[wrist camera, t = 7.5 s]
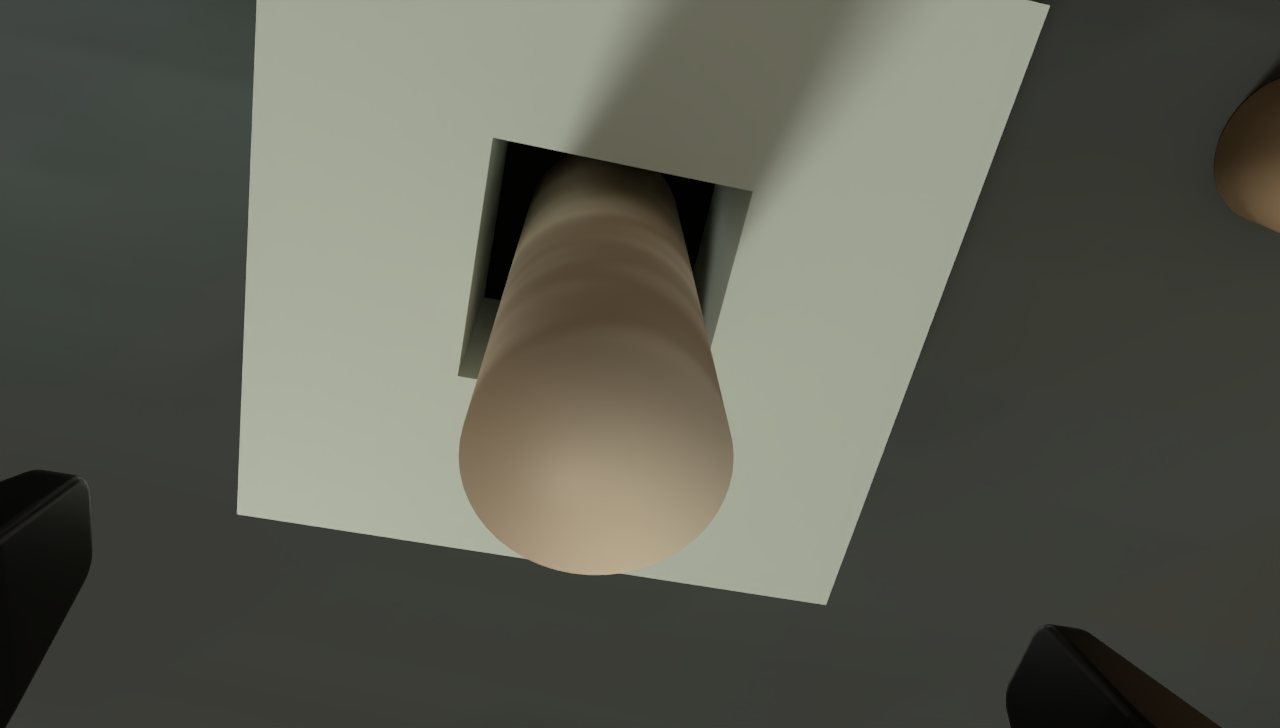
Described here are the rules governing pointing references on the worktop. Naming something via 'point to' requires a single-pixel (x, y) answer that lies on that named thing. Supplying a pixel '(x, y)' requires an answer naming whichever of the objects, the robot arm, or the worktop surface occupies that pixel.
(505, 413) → the long dowel
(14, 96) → the worktop surface
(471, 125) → the hole block
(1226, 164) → the short dowel
